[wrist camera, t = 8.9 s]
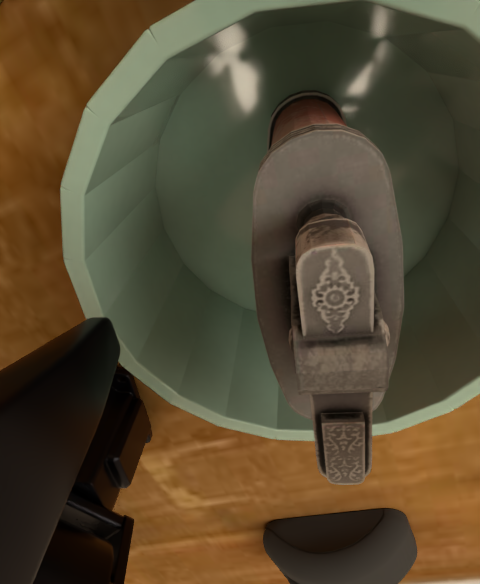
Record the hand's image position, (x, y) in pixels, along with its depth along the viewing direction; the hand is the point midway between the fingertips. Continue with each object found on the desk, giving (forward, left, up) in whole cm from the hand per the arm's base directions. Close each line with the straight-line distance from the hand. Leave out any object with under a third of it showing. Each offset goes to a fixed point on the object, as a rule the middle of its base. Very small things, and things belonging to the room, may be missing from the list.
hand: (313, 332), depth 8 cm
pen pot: (0, 0, -9) cm, 9 cm away
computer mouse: (+3, -28, -9) cm, 30 cm away
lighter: (0, 0, -9) cm, 9 cm away
